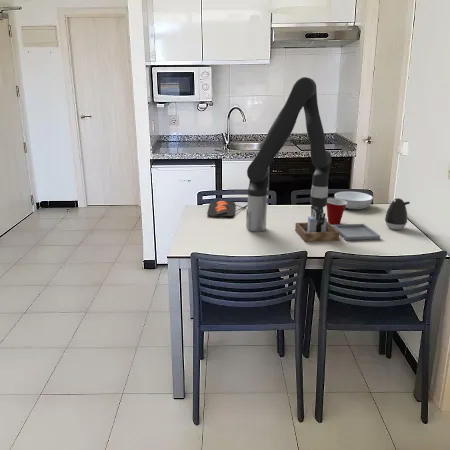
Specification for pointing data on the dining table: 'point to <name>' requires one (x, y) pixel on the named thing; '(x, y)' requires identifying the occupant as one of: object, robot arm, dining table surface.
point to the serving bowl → (354, 199)
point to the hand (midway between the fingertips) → (316, 230)
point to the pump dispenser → (396, 214)
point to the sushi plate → (222, 208)
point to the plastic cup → (335, 210)
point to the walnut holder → (317, 233)
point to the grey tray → (356, 232)
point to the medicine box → (313, 224)
